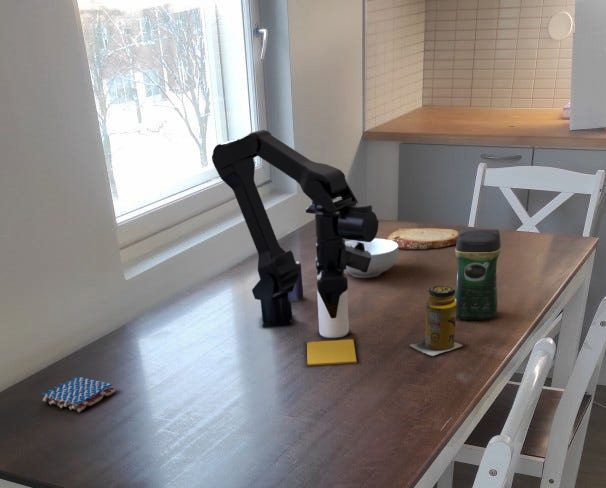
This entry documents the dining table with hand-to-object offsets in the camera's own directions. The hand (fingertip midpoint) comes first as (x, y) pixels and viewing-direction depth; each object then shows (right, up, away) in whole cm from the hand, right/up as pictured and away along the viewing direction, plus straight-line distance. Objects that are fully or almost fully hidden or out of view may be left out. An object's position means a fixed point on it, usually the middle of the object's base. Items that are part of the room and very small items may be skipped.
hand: (332, 310), depth 175 cm
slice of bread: (+28, +36, +57) cm, 73 cm away
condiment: (+21, -10, -7) cm, 24 cm away
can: (0, -4, +3) cm, 5 cm away
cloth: (-1, -11, -6) cm, 12 cm away
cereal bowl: (+10, +20, +37) cm, 43 cm away
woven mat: (-50, -22, -17) cm, 57 cm away
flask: (-11, +10, +25) cm, 29 cm away
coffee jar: (+32, +1, +7) cm, 33 cm away
